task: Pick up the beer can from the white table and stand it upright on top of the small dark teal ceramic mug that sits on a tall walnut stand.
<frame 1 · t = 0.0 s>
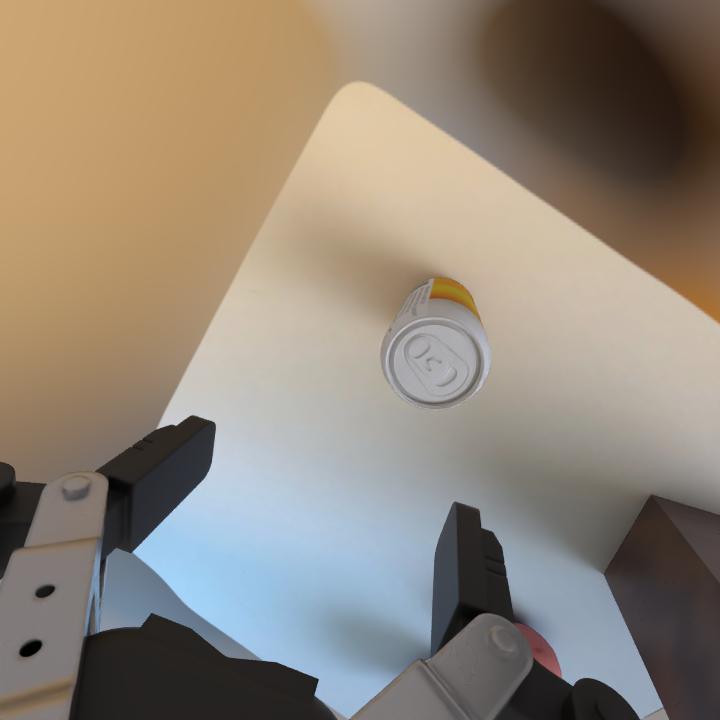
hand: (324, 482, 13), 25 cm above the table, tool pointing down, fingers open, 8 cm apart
apple: (513, 630, 44), on the table
walnut stand: (681, 553, 38), on the table
beer can: (439, 311, 36), on the table
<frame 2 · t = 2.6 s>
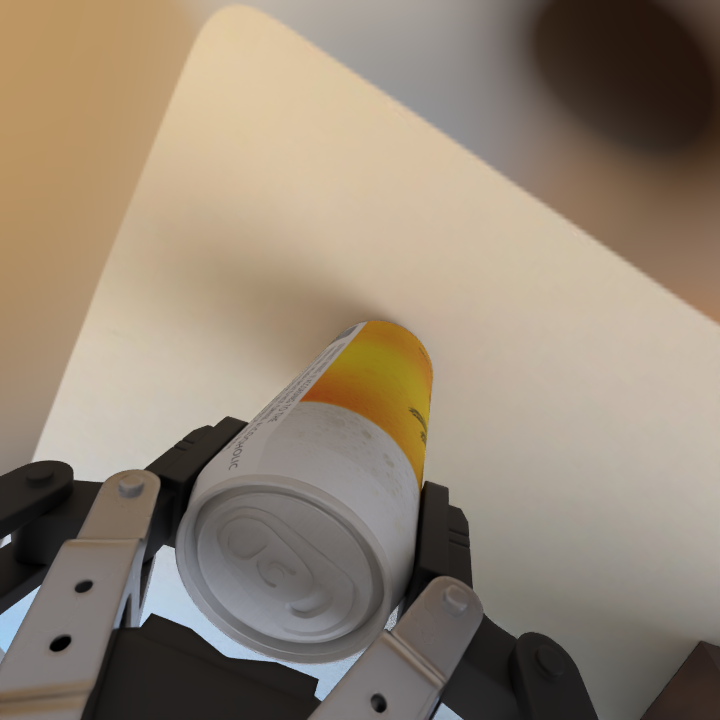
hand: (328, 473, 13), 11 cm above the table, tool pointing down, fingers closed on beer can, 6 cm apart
beer can: (380, 368, 23), on the table, touching gripper
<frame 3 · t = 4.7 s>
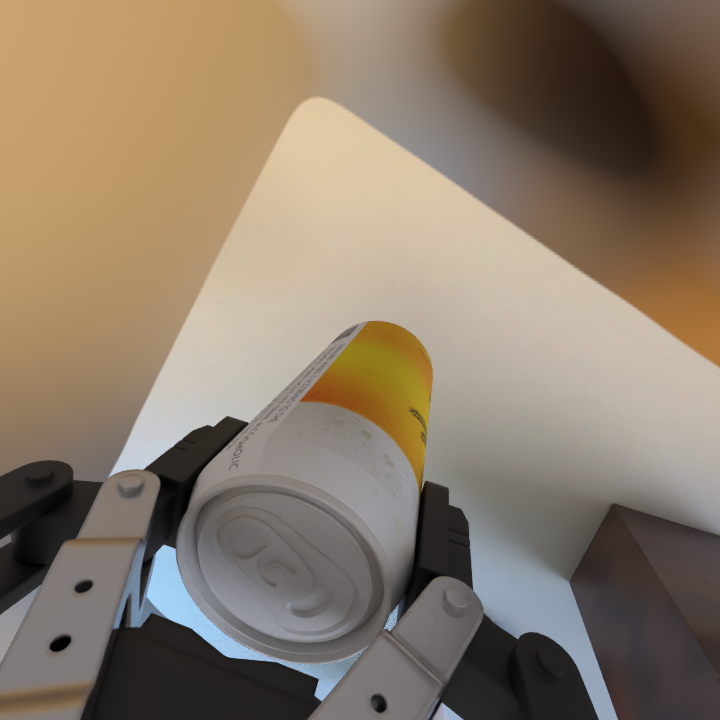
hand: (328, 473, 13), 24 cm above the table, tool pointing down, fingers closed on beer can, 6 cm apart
walnut stand: (643, 562, 38), on the table
beer can: (380, 368, 23), point 13 cm above the table, touching gripper
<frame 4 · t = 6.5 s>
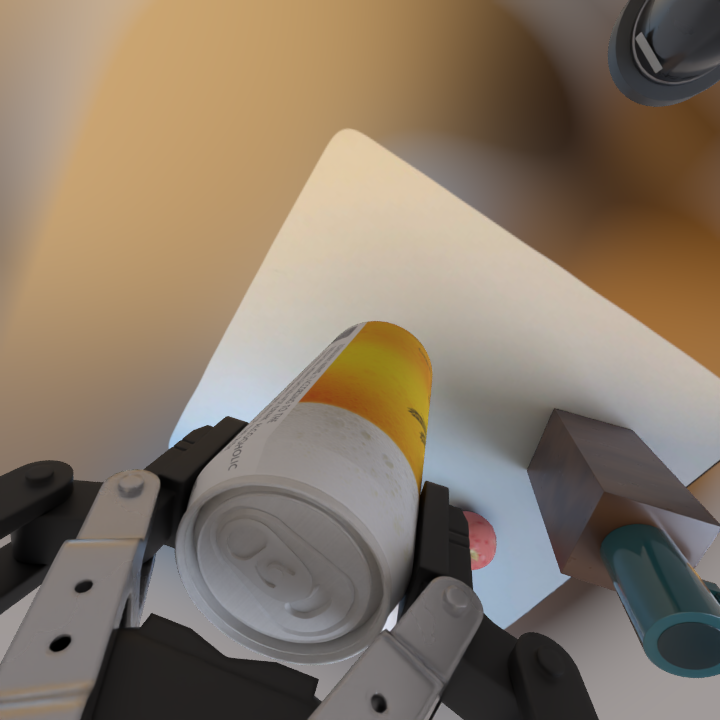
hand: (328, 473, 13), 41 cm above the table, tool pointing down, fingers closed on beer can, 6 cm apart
apple: (467, 519, 61), on the table
teal mug: (636, 551, 37), resting on walnut stand
walnut stand: (577, 451, 54), on the table
beer can: (380, 368, 23), point 30 cm above the table, touching gripper
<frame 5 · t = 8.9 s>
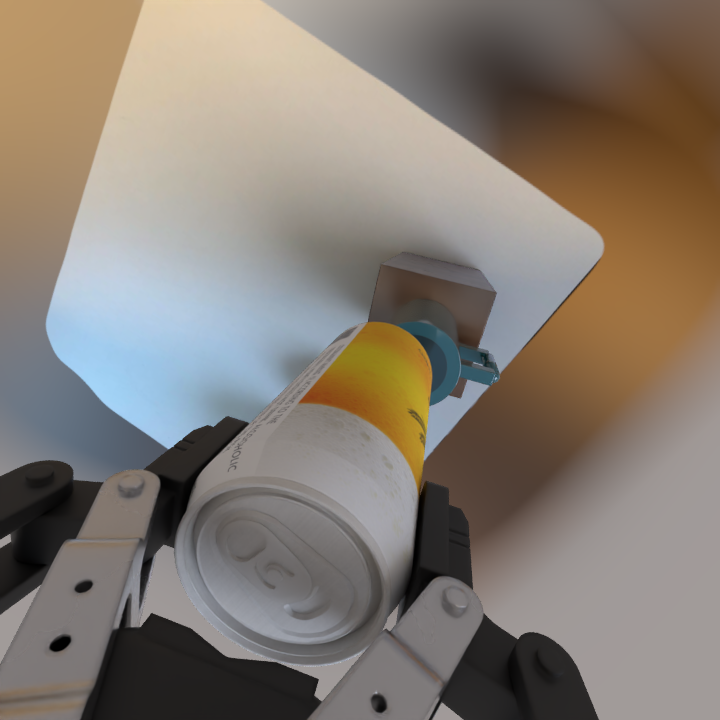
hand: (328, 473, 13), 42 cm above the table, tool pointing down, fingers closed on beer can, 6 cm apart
teal mug: (422, 333, 36), resting on walnut stand
walnut stand: (430, 299, 52), on the table
beer can: (379, 369, 23), point 31 cm above the table, touching gripper
when the fingers open (38 cm above the table, at t = 10.5 s): beer can stays where it is, resting on teal mug.
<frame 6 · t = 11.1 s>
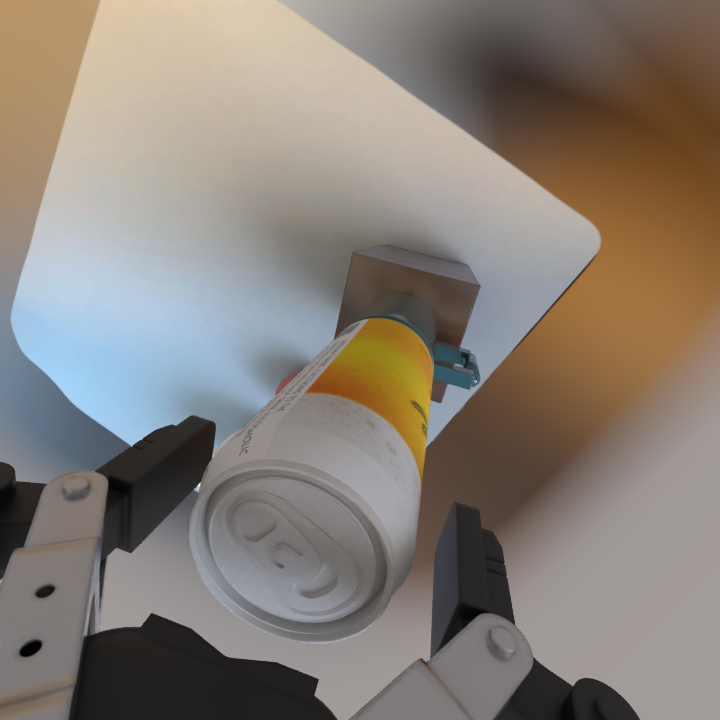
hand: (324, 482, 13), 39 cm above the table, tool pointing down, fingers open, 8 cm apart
teal mug: (398, 330, 32), resting on walnut stand
walnut stand: (415, 296, 49), on the table
beer can: (381, 364, 24), point 27 cm above the table, touching teal mug
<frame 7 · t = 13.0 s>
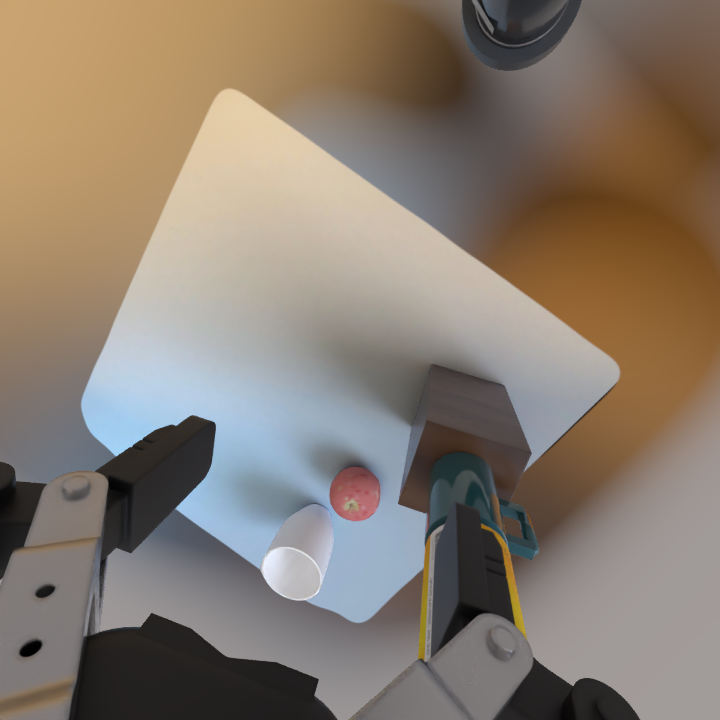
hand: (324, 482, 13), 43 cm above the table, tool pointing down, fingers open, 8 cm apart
apple: (360, 477, 63), on the table
teal mug: (461, 480, 39), resting on walnut stand
walnut stand: (456, 407, 56), on the table
mug: (310, 519, 67), on the table
beer can: (465, 545, 31), point 27 cm above the table, touching teal mug
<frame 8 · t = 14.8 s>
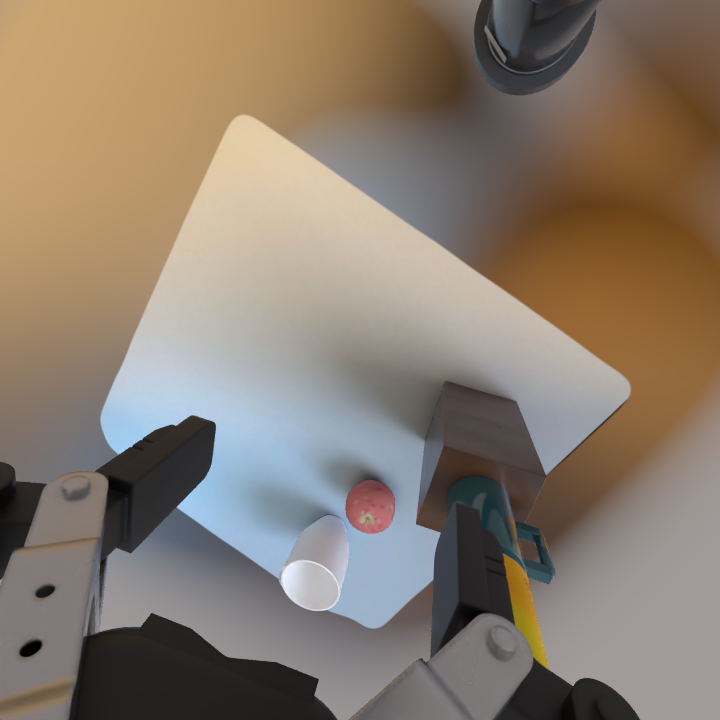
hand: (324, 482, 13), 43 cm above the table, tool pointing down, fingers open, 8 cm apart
apple: (375, 489, 64), on the table
teal mug: (477, 502, 40), resting on walnut stand
walnut stand: (468, 422, 57), on the table
mug: (326, 529, 68), on the table
beer can: (485, 571, 32), point 27 cm above the table, touching teal mug
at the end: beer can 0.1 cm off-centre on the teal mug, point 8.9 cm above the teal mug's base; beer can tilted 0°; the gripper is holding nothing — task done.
